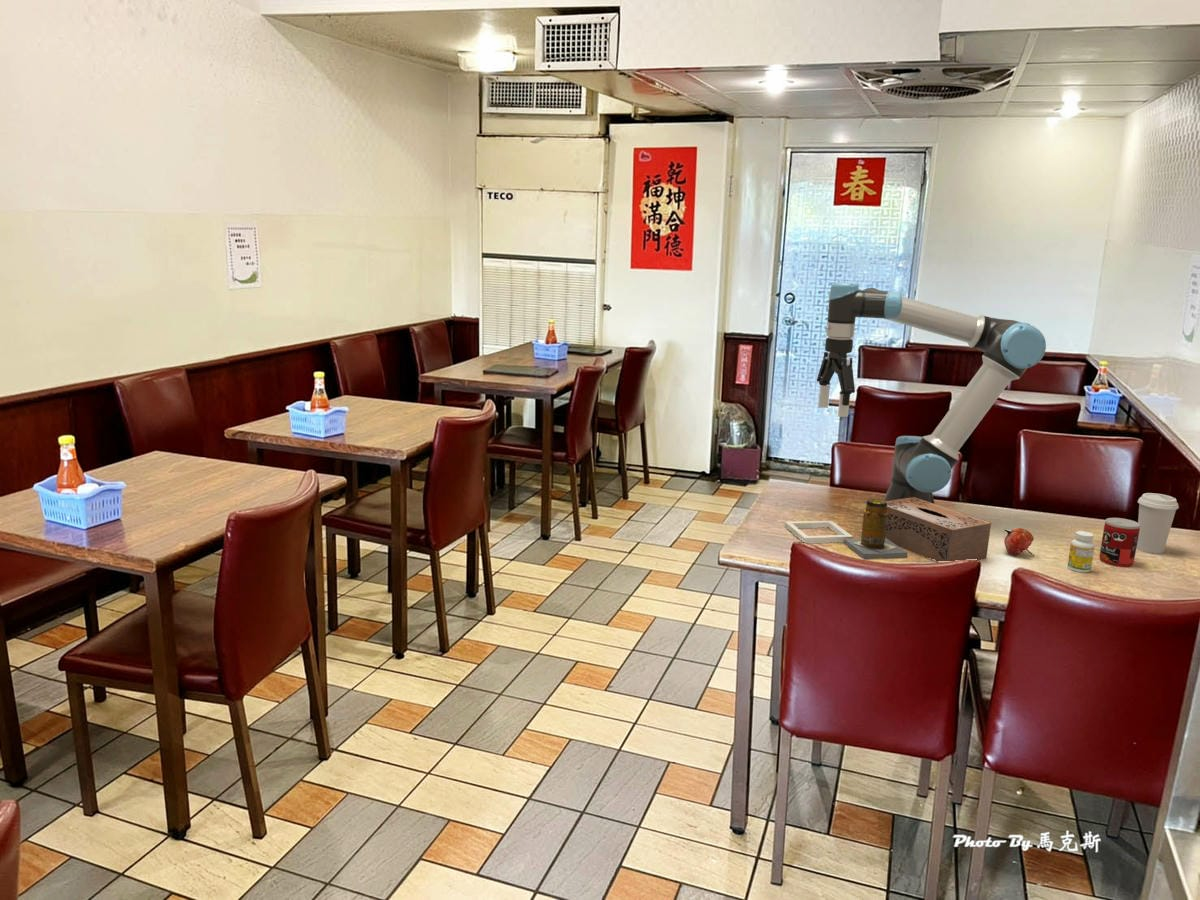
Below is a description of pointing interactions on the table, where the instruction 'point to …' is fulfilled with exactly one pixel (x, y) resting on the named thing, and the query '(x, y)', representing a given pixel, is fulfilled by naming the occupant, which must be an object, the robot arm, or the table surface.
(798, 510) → the table surface
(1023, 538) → the pomegranate
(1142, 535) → the coffee cup
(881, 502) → the condiment
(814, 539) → the pocket holder
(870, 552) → the charcoal tile
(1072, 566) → the supplement bottle
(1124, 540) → the canned food
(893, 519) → the tissue box cover
